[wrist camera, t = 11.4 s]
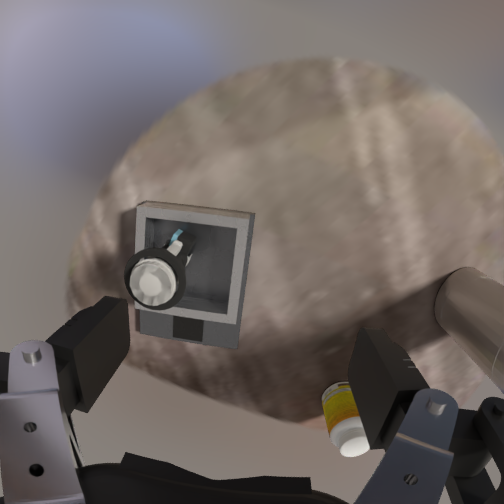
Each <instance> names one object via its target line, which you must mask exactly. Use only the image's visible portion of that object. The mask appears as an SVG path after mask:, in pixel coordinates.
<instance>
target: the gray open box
mask: <svg viewBox="0 0 504 504" xmlns="http://www.w3.org/2000/svg"><path fill="white" fill-rule="evenodd" d="M254 219H255V213H250V212H242V211H234V210H226V209H218V208H210V207H202V206H193V205H184V204H175V203H166V202H156V201H144V202H143V204H141V205H139V206H137V215H136V236H135V254H136V253H137V252H139V251H141V250H143V249H147V248H154V247H157V248H162V247H163V246H164V245H165V243H166V241H167V240H169V241H171V239H172V237H173V235H174V233H175V232H176V231H177V230H178V229H180V230H182V231H184V232H187V233H189V234H191V235H193V236H195V237H197V238H196V241H195V243H194V245H193V247H192V248H191V250H190V251H189V253H188V255H187V256H189V257H190V255H191V254H192V256H191V258H190V261H189V263H188V264H187V266H185V270H186V272H185V275H186V290H185V293H184V295H183V297H182V298H181V300H180V301H179V302H178V303H177V304H176V305H175V306H173V307H172V308H169V309H166V310H151V309H148V308H145V307H143V306H142V305H140V304H139V303H137V302H136V301H135V309H140V334H145V335H150V336H156V337H161V338H167V339H172V340H178V341H184V342H190V343H197V344H203V345H210V346H217V347H224V348H231V349H237V347H238V339H239V332H240V324H241V317H242V309H243V302H244V294H245V287H246V279H247V272H248V264H249V257H250V249H251V242H252V234H253V227H254ZM146 258H147V257H144V258H142V259H140V261H139V262H141V261H142V260H145V259H146ZM178 285H179V282H178V284H177V285H176V291H177V290H178ZM176 291H175V292H176Z"/></svg>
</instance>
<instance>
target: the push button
mask: <svg viewBox="0 0 504 504" xmlns="http://www.w3.org/2000/svg"><path fill="white" fill-rule="evenodd" d="M196 238H197V237H195V236H193V235H191V234H189V233H187V232H184V231H182V230H180V229H178V230H177V231H176V232H175V233H174V235H173V237H172V239H171V241H169V240H167V241H166V243H165V245H164V246H163V247H162V248H157V247H154V248H147V249H143V250H141V251H139V252H137V253H136V254H135V255H133V256H132V257H131V258H130V260H129V261H128V263H127V265H126V268H125V272H124V279H125V285H126V288H127V290H128V292H129V294H130V295H131V296H132V298H133V299H134V300H135V301H136V302H137V303H139V304H140V305H142V306H143V307H145V308H148V309H151V310H166V309H169V308H172V307H173V306H175V305H176V304H177V303H178V302H179V301H180V300H181V298H182V297H183V295H184V293H185V290H186V275H185V272H186V270H185V266H187V264H188V263H189V261H190V258H191V256H192V254H191V255H190V257H189V256H187V255H188V253H189V251H190V250H191V248H192V247H193V245H194V243H195V241H196ZM144 257H147V258H146V259H145V260H142V261H141V262H139V261H140V259H142V258H144ZM178 282H179V285H178V290H177V291H176V285H177V284H178ZM175 291H176V292H175Z"/></svg>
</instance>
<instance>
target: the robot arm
mask: <svg viewBox="0 0 504 504" xmlns="http://www.w3.org/2000/svg"><path fill="white" fill-rule="evenodd" d="M434 312H435V317H436V320H437V322H438V323H439V325H440V326H441V327H442V328H443V329H444V330H445V331H446V332H447V333H448V334H449V335H450V336H451V337H452V338H453V339H454V340H455V342H456V343H457V344H458V345H459V346H460V347H461V348H462V349H463V350H464V351H465V352H466V353H467V354H468V355H469V356H470V357H471V358H472V360H473V361H474V362H475V363H476V364H477V365H478V366H479V367H480V368H481V369H482V370H483V371H484V373H485V374H486V375H487V376H488V377H489V378H490V379H491V380H492V381H493V383H494V384H495V385H496V386H497V387H498V388H499V389H500V390H501V392H502V393H503V394H504V286H503V285H502V284H500V283H498V282H497V281H495V280H494V279H492V278H490V277H489V276H487V275H485V274H484V273H482V272H480V271H478V270H477V269H475V268H471V267H466V268H462V269H459V270H457V271H456V272H454V273H453V274H451V275H450V276H449V277H448V278H447V279H446V281H445V282H444V283H443V285H442V286H441V288H440V290H439V292H438V294H437V297H436V301H435V309H434ZM129 347H130V330H129V314H128V303H127V301H126V299H122V298H116V297H111V296H104V297H103V298H102V299H101V300H100V301H99V302H97V303H96V304H95V305H94V306H93V307H92V306H91V307H88V308H86V309H83V310H81V311H79V312H78V313H77V314H75V315H74V316H73V317H72V318H71V320H68V321H67V322H66V323H65V325H63V326H62V327H60V328H59V329H58V330H57V331H56V332H55V333H54V334H53V335H51V336H50V337H49V338H48V339H47V340H46V341H45V342H44V341H40V340H30V341H25V342H22V343H20V344H18V345H16V346H15V347H14V348H13V349H12V350H11V352H10V353H6V352H0V467H1V478H2V487H3V495H4V496H3V497H0V504H349V503H347V502H345V501H343V500H341V499H339V498H337V497H335V496H332V495H329V494H327V493H323V492H320V491H316V490H312V489H311V480H310V477H276V476H259V477H250V478H240V479H228V480H212V479H209V478H206V477H204V476H201V475H198V474H195V473H193V472H190V471H187V470H185V469H183V468H180V467H178V466H175V465H173V464H171V463H168V462H163V461H159V460H155V459H150V458H146V457H142V456H138V455H135V454H131V453H127V452H125V455H124V457H123V459H122V461H121V463H102V464H94V465H88V466H86V465H85V462H84V459H83V456H82V453H81V449H80V446H79V443H78V439H77V435H76V432H75V428H74V424H73V420H72V417H71V413H72V411H73V410H74V409H76V410H80V411H82V412H85V413H88V412H89V410H90V409H91V407H92V406H93V404H94V403H95V401H96V400H97V398H98V397H99V395H100V394H101V392H102V391H103V389H104V388H105V386H106V385H107V383H108V382H109V380H110V379H111V377H112V376H113V374H114V373H115V371H116V370H117V369H118V367H119V366H120V364H121V363H122V361H123V360H124V358H125V357H126V355H127V353H128V351H129ZM348 382H349V385H350V388H351V391H352V394H353V397H354V400H355V403H356V406H357V409H358V412H359V416H360V419H361V422H362V425H363V428H364V431H365V434H366V437H367V441H368V444H369V447H370V449H371V450H372V449H384V450H385V455H384V456H383V458H382V460H381V461H380V463H379V465H378V466H377V468H376V470H375V471H374V473H373V474H372V476H371V478H370V479H369V481H368V482H367V484H366V485H365V487H364V489H363V490H362V492H361V493H360V495H359V496H358V498H357V499H356V500H355V502H354V503H353V504H438V503H439V500H440V497H441V495H442V492H443V489H444V486H446V489H447V492H448V495H449V497H450V500H451V503H452V504H504V399H501V398H498V397H489V398H486V399H484V401H483V402H482V404H481V405H480V407H479V409H478V411H475V410H466V409H459V407H458V404H457V402H456V400H455V399H454V398H453V397H452V396H451V395H449V394H448V393H446V392H444V391H441V390H438V389H432V388H430V387H429V386H428V384H427V382H426V381H425V379H424V378H423V376H422V375H421V373H420V372H419V370H418V369H417V368H416V366H415V364H414V363H413V361H411V358H410V357H409V355H408V354H407V352H406V351H405V350H404V349H403V348H401V347H400V346H399V345H397V344H396V343H392V342H391V340H390V338H389V337H388V335H387V334H386V332H385V331H384V329H381V328H361V329H360V331H359V333H358V336H357V340H356V344H355V347H354V351H353V354H352V357H351V361H350V364H349V368H348ZM492 457H493V459H494V461H495V463H496V465H497V467H498V469H499V471H500V473H501V482H500V485H499V487H498V489H497V490H495V488H494V486H493V484H492V482H491V480H490V477H489V475H488V473H487V471H486V469H485V466H486V465H487V463H488V462H489V461H490V459H491V458H492Z"/></svg>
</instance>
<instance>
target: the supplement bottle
mask: <svg viewBox="0 0 504 504" xmlns="http://www.w3.org/2000/svg"><path fill="white" fill-rule="evenodd" d="M321 402H322V407H323V411H324V415H325V419H326V423H327V428H328V432H329V437H330V440H331V442H332V443H333V444H334V445H335V446H337V447H339V450H340V453H341V454H342V455H343V456H346V457H355V456H358V455H361V454H363V453H365V452H366V451H367V450H368V449H369V448H370V447H369V444H368V441H367V437H366V434H365V431H364V428H363V425H362V422H361V419H360V416H359V412H358V409H357V406H356V403H355V400H354V397H353V394H352V391H351V388H350V385H349V382H338V383H335V384H333V385H331V386H330V387H329V388H327V389H326V390H325V392H324V393H323V395H322V399H321Z"/></svg>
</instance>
